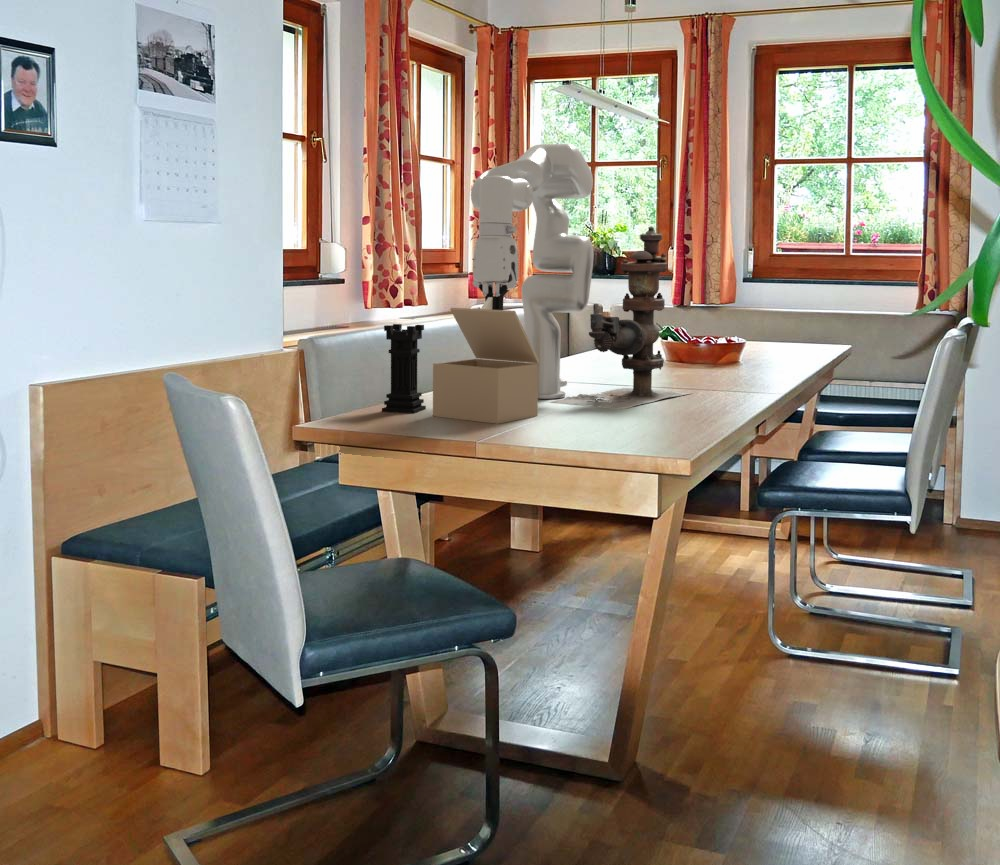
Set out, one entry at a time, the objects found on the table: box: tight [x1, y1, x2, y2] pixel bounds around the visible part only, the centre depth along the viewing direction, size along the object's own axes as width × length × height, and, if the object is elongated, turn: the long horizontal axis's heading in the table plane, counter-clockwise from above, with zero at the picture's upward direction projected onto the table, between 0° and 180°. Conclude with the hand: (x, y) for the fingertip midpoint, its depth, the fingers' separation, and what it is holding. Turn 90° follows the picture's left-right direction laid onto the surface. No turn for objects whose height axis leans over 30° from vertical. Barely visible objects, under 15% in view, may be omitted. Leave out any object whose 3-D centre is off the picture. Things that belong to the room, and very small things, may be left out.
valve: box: [551, 226, 694, 410], centre depth 289 cm, size 42×20×45 cm, turn 146°
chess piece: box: [381, 323, 427, 414], centre depth 261 cm, size 8×8×20 cm
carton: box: [432, 358, 539, 425], centre depth 255 cm, size 16×18×12 cm
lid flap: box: [449, 297, 539, 363], centre depth 256 cm, size 16×18×5 cm
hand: (493, 313), depth 254 cm, fingers closed
